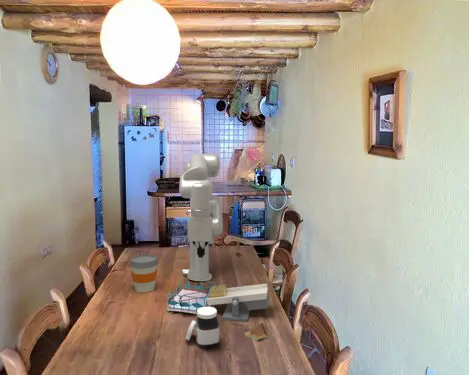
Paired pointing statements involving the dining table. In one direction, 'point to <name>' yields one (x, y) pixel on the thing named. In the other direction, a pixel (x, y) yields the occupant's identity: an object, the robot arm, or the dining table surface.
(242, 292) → the beam
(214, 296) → the block
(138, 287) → the reusable coffee cup
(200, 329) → the spread jar
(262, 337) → the shard
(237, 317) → the balance stand
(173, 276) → the dining table surface
